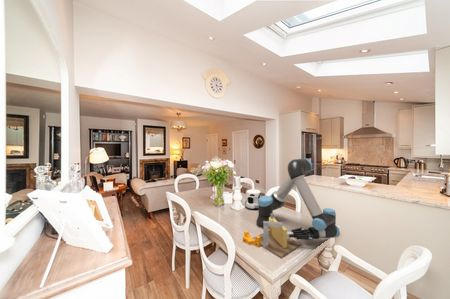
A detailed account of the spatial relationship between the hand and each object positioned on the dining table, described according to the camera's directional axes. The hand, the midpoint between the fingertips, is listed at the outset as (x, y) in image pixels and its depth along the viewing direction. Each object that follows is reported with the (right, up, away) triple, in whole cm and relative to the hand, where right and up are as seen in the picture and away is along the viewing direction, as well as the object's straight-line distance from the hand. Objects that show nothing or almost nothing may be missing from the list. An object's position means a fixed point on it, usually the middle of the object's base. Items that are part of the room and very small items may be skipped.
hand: (283, 235), depth 118 cm
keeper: (-8, -7, -2) cm, 11 cm away
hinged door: (-3, -6, +5) cm, 8 cm away
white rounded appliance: (-9, -5, +70) cm, 71 cm away
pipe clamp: (-21, -8, +4) cm, 23 cm away
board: (-4, -7, +4) cm, 9 cm away
